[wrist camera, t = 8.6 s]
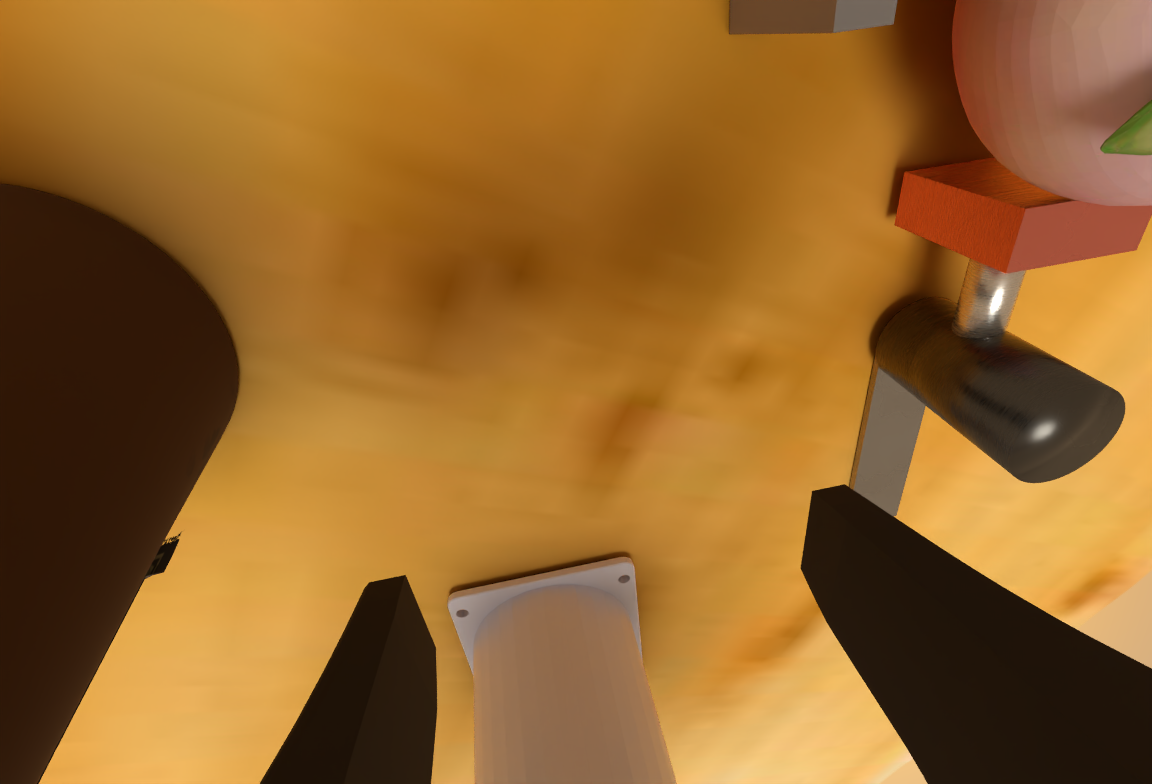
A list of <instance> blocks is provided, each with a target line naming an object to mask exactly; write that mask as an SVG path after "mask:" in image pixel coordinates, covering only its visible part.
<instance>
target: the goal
mask: <svg viewBox="0 0 1152 784" xmlns="http://www.w3.org/2000/svg"><path fill="white" fill-rule="evenodd" d="M896 6H897V0H730V25H729V34H790V33H836V32H843V31H850V30H857V29H864V28H871V27H878V26H885V25H892V24H894V19H895V12H896Z"/></svg>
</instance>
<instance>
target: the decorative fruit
mask: <svg viewBox="0 0 1152 784" xmlns="http://www.w3.org/2000/svg"><path fill="white" fill-rule="evenodd" d="M952 52H953V63H954V71H955V76H956V82H957V86H958V90H959V94H960V98H961V102H962V105H963V107H964V110H965V112H966V115H967V117H968V120H969V123H970V125H971V126H972V128H973V130H974V131H975V133H976V135H977V136H978V137H979V139H980V140H981V142H982V143H983V144H984V145H985V147H986V148H987V149H988V150H989V151H990V153H991V154H992V155H993V156H994V157H995V158H996V159H997V160H998V161H999V162H1000V163H1001V164H1002V165H1003V166H1005V167H1006V168H1007V169H1008V170H1010V171H1011V172H1012V173H1014V174H1015V175H1017V176H1018V177H1020V178H1022V179H1023V180H1025V181H1026V182H1028V183H1030V184H1032V185H1034V186H1036V187H1038V188H1041V189H1043V190H1046V191H1048V192H1050V193H1053V194H1055V195H1058V196H1062V197H1066V198H1070V199H1074V200H1078V201H1083V202H1087V203H1092V204H1099V205H1106V206H1150V205H1152V0H957V1H956V6H955V12H954V19H953V28H952Z"/></svg>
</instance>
